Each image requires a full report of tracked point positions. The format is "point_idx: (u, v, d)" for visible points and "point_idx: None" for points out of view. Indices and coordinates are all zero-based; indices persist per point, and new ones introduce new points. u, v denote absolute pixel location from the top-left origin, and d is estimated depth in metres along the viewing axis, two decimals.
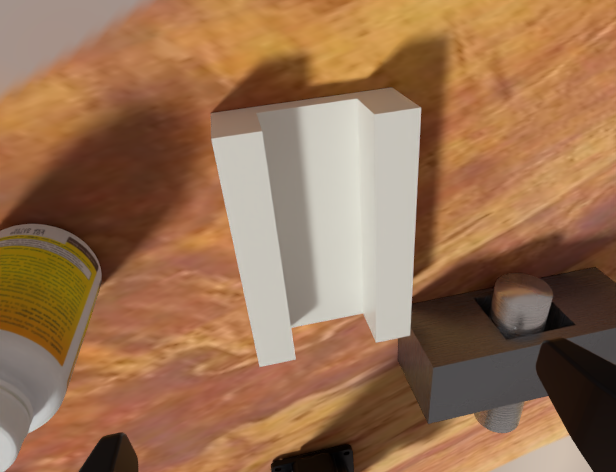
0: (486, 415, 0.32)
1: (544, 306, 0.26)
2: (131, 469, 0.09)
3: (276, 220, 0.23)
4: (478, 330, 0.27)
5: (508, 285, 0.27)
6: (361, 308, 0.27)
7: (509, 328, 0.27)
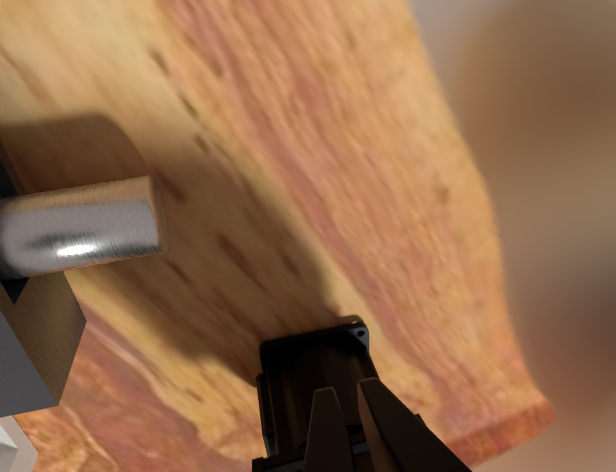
0: None
1: None
2: None
3: None
4: None
5: None
6: None
7: None
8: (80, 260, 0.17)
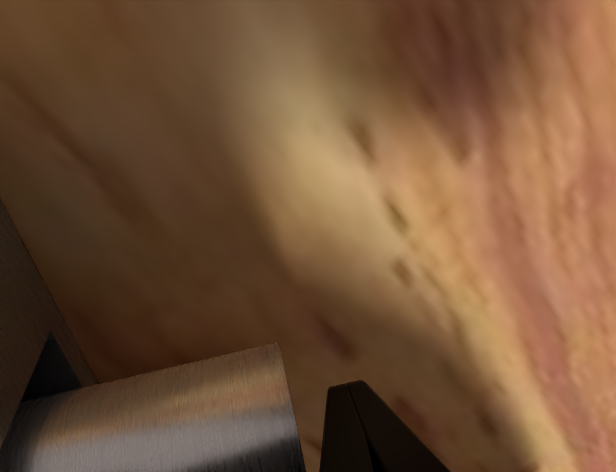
0: None
1: None
2: None
3: None
4: None
5: None
6: None
7: None
8: None
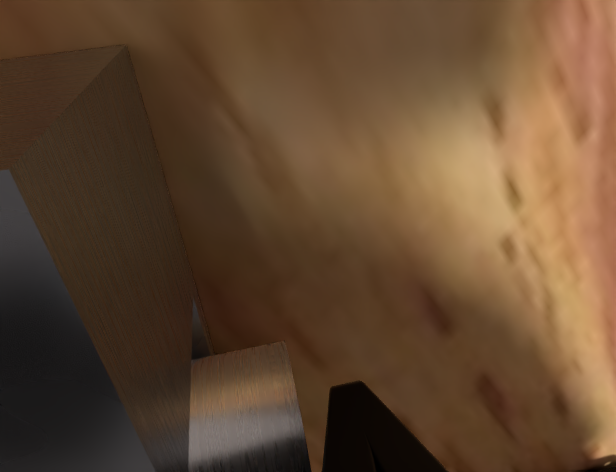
0: None
1: None
2: None
3: None
4: None
5: None
6: None
7: None
8: None
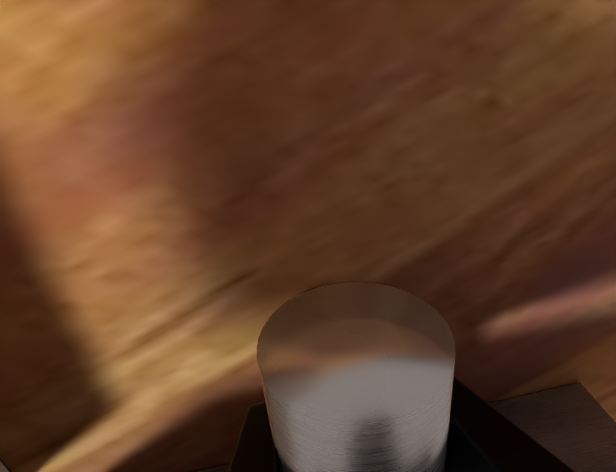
0: None
1: (408, 419, 0.06)
2: None
3: None
4: None
5: (310, 323, 0.08)
6: None
7: None
8: None
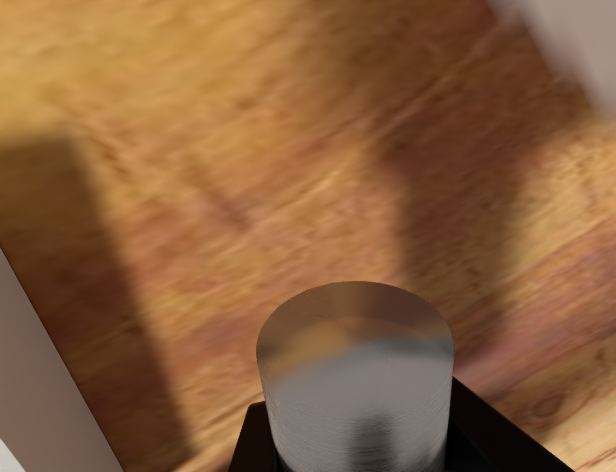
0: None
1: (407, 417, 0.06)
2: None
3: None
4: None
5: (309, 322, 0.08)
6: None
7: None
8: None
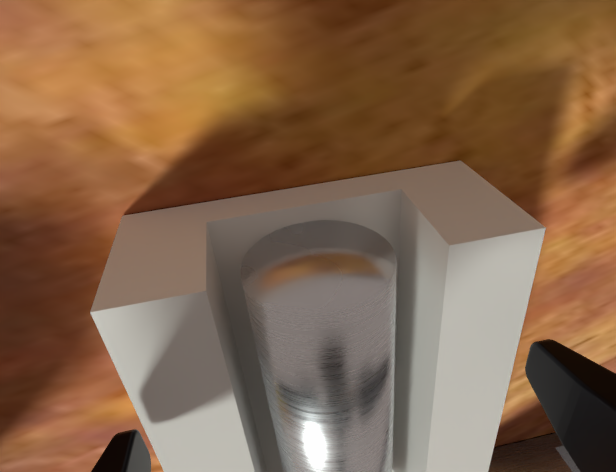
0: None
1: (349, 315, 0.08)
2: (144, 466, 0.09)
3: (252, 384, 0.13)
4: None
5: (285, 249, 0.10)
6: None
7: (273, 372, 0.09)
8: None
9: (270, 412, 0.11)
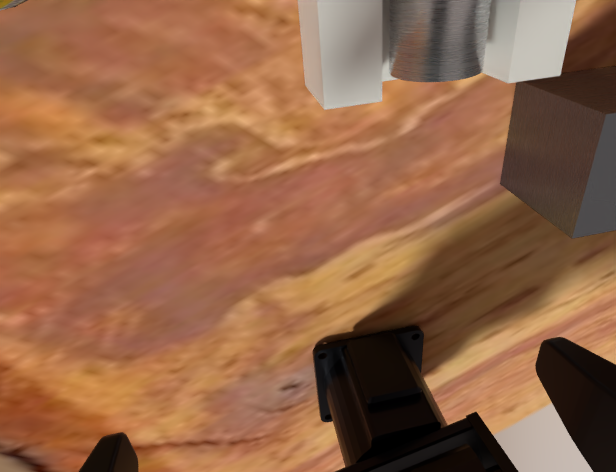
0: (404, 37, 0.14)
1: None
2: (131, 469, 0.09)
3: None
4: None
5: None
6: None
7: None
8: None
9: None
